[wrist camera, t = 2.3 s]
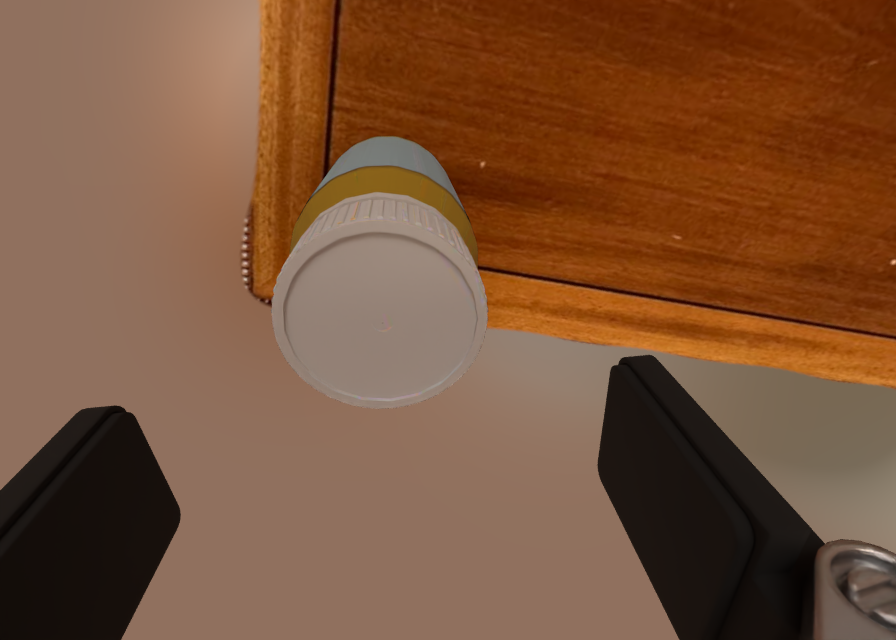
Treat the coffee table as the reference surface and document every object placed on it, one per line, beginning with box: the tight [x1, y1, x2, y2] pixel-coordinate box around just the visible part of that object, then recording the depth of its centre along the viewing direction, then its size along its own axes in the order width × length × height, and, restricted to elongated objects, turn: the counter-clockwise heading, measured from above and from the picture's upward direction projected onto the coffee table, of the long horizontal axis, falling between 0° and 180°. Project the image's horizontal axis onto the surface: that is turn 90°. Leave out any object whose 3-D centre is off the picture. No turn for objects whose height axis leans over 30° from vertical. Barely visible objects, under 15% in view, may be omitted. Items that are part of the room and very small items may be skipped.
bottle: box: [271, 136, 488, 409], centre depth 19 cm, size 7×7×15 cm
